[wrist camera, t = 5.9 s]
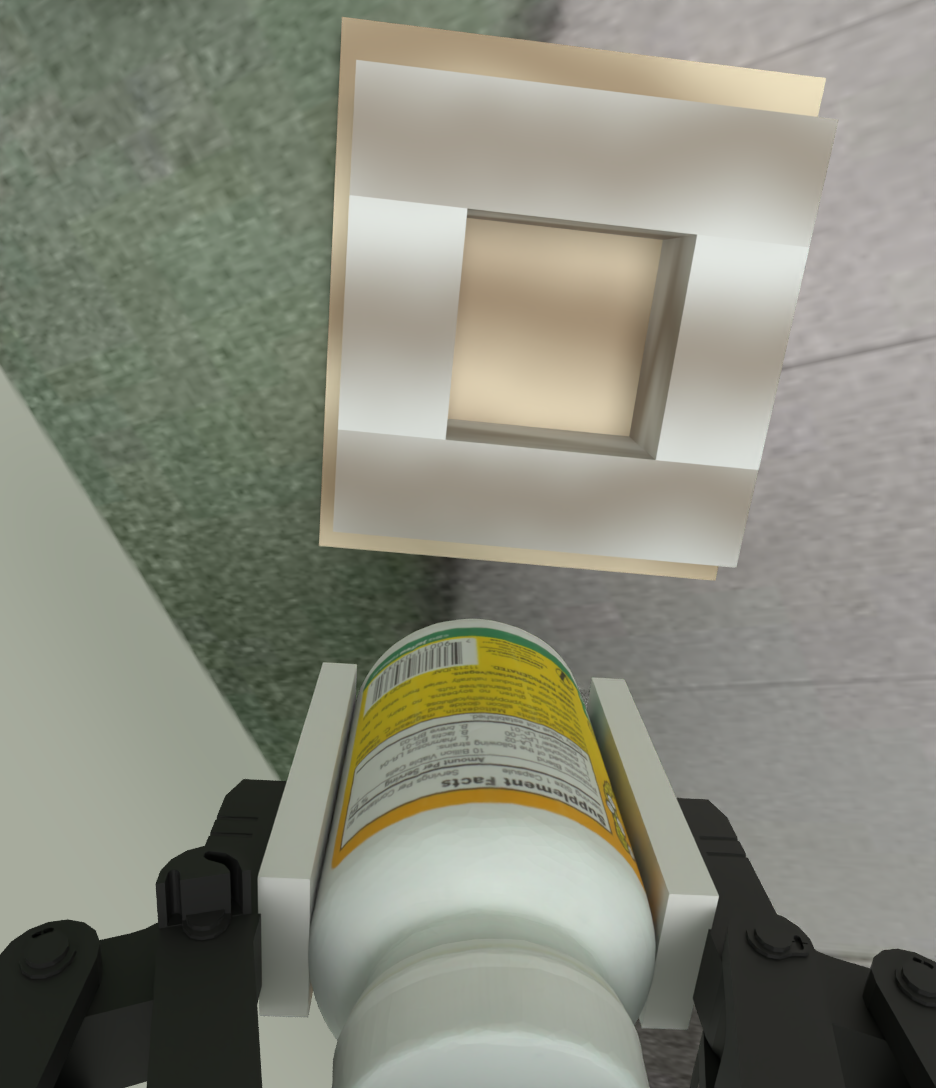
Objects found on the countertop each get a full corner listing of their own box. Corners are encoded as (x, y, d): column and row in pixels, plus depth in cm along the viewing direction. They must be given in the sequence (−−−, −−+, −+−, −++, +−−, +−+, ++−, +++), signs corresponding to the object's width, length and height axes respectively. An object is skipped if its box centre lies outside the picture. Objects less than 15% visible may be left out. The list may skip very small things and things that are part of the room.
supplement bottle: (404, 577, 17) (360, 926, 8) (623, 659, 18) (805, 1058, 9) (322, 771, 19) (208, 1245, 10) (526, 838, 20) (598, 1332, 10)
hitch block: (703, 567, 33) (751, 622, 28) (324, 533, 32) (301, 583, 27) (806, 88, 27) (890, 44, 22) (347, 30, 26) (323, -30, 21)
